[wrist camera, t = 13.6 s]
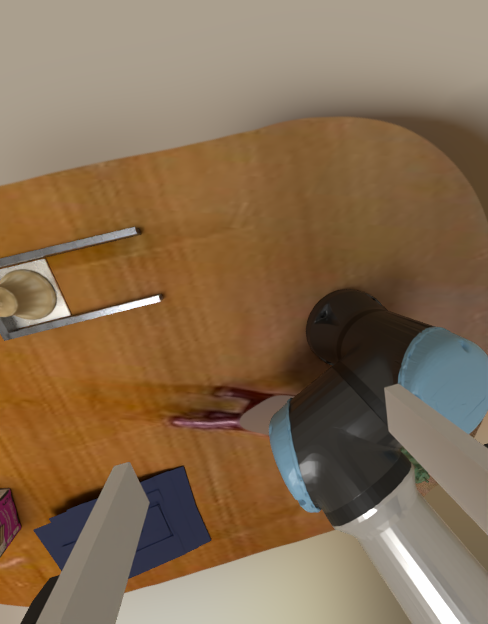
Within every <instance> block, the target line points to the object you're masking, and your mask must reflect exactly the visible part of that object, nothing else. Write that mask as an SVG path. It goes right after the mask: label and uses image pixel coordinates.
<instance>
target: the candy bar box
mask: <svg viewBox="0 0 488 624" xmlns="http://www.w3.org/2000/svg"><path fill="white" fill-rule="evenodd" d="M20 529H21V525H20V522H19V519H18V515H17V512H16V508H15V505H14V502H13V498H12V494H11V491H10V489H9V488H4V489H0V557H1V556H2V554H3V553H4V551H5V550H6V549H7V547H8V546H9V544H10V543H11V542H12V540H13V539H14V537H15V536H16V535H17V533H18V532H19V530H20Z"/></svg>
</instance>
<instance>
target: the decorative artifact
mask: <svg viewBox="0 0 488 624" xmlns="http://www.w3.org/2000/svg"><path fill="white" fill-rule="evenodd" d="M400 451H401V452H402V453H403V454H404V455H405V456H406V457H407V458H408V460H409V461H410V462H411V463H412V464H413V466H414V473H415V483H422V482H423V481H426V482H427V483H428V482H429V481H428V480H427V479H429V477H430V476H429V475H428V472H427V471H426V470H425V469H424V468H423V467H422V466H421V465H420V464H419V463H418V462H417V460H416V459H415V458H414V457H413V456H412V455H411V454H410V453H409V452H408V451H407V450H406V449H405V448H404V447H403V446H402V447H401V448H400Z"/></svg>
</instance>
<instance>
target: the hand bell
mask: <svg viewBox="0 0 488 624" xmlns="http://www.w3.org/2000/svg"><path fill="white" fill-rule="evenodd" d="M55 304H56V294H55V291H54V289H53V287H52V286H51V284H50V283H49V282H48V281H47V280H46V279H45V278H44V277H43V276H41V275H40V274H38V273H36V272H33V271H30V270H23V269H20V270H14V271H11V272H9V273H7V274H6V275H4V276H3V278H2V279H1V280H0V317H8V316H14V315H15V316H17V317H20V318H23V319H28V320H37V319H41V318H44V317H46V316H48V315H49V314H50V313H51V312H52V311H53V309H54V307H55Z"/></svg>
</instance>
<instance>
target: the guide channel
mask: <svg viewBox="0 0 488 624" xmlns="http://www.w3.org/2000/svg"><path fill="white" fill-rule="evenodd" d="M137 235H141V233H140V230H139V228H136V227H132V228H128V229H124V230H120V231H115V232H111V233H107V234H103V235H98V236H94V237H90V238H86V239H82V240H77V241H73V242H69V243H65V244H60V245H56V246H52V247H48V248H44V249H39V250H35V251H31V252H27V253H22V254H18V255H14V256H10V257H5V258H1V259H0V268H3V267H7V266H12V265H16V264H20V263H24V262H28V261H33V260H37V259H41V258H45V257H49V256H54V255H58V254H62V253H66V252H70V251H75V250H79V249H83V248H87V247H91V246H95V245H100V244H104V243H108V242H112V241H116V240H121V239H125V238H129V237H133V236H137ZM20 269H23V270H30V271H33V272H36V273H38V274H40V275H41V276H43V277H44V278H45V279H46V280H47V281H48V282H49V283H50V284H51V286H52V287H53V289H54V291H55V294H56V304H55V307H54V309H53V311H52V312H51V313H50V314H49V315H48V316H46V317H44V318H41V319H37V320H28V319H23V318H20V317H17V316H15V315H14V316H8V317H0V334H1V336H2V338H3V339H4V341H5V340H9V339H13V338H17V337H21V336H25V335H29V334H33V333H37V332H41V331H45V330H49V329H53V328H57V327H61V326H65V325H69V324H73V323H77V322H81V321H85V320H89V319H92V318H96V317H100V316H104V315H108V314H112V313H116V312H120V311H124V310H128V309H132V308H136V307H140V306H144V305H148V304H152V303H156V302H160V301H161V300H163V297H162V294H158V295H154V296H150V297H146V298H142V299H138V300H134V301H130V302H126V303H122V304H118V305H114V306H110V307H106V308H102V309H98V310H94V311H90V312H86V313H82V314H78V315H74V316H70V315H72V314H71V312H70V310H69V308H68V306H67V304H66V302H65V299H64V297H63V295H62V293H61V291H60V289H59V286H58V284H57V282H56V280H55V278H54V276H53V273H52V271H51V269H50V267H49V265H48V263H47V260H46V259H41V260H37V261H33V262H29V263H25V264H20V265H16V266H12V267H8V268H4V269H0V280H1V279H2V278H3V276H4V275H6V274H7V273H9V272H11V271H14V270H20ZM66 316H70V317H66ZM62 317H66V318H62ZM58 318H62V319H58ZM54 319H58V320H54ZM50 320H54V321H50ZM46 321H50V322H46ZM42 322H46V323H42ZM38 323H42V324H38ZM34 324H38V325H34ZM30 325H34V326H30ZM26 326H30V327H26ZM22 327H26V328H22ZM19 328H22V329H19Z"/></svg>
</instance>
